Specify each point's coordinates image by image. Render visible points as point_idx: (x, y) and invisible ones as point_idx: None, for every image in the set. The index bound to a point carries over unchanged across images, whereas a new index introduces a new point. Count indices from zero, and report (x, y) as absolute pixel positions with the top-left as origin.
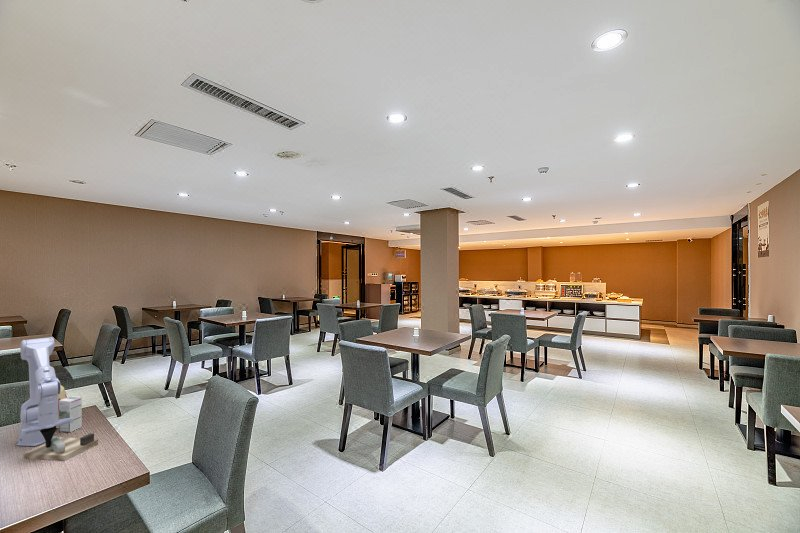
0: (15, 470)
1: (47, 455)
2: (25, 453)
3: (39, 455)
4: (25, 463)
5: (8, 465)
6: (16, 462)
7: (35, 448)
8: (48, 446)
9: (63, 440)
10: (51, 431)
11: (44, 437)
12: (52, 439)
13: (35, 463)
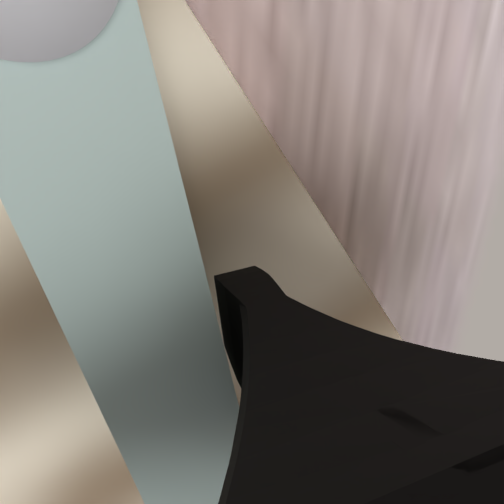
0: (483, 19)
1: (233, 79)
2: (397, 334)
3: (305, 192)
4: (389, 164)
5: (475, 228)
6: (426, 256)
7: None
8: (241, 272)
9: (61, 500)
10: (394, 478)
11: (416, 356)
12: (204, 423)
13: (327, 67)
